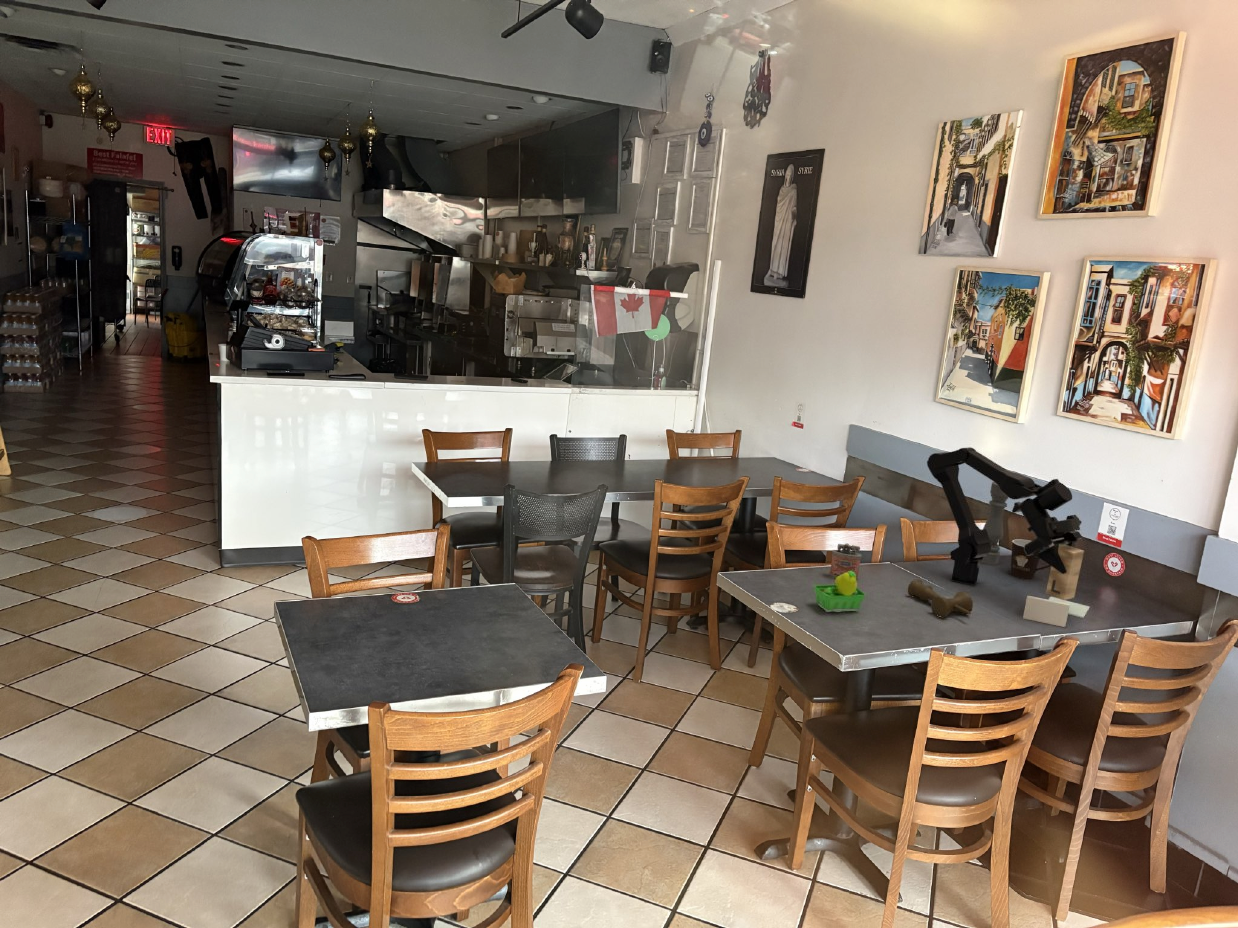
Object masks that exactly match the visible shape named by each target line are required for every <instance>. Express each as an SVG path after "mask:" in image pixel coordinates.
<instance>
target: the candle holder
mask: <svg viewBox="0 0 1238 928" xmlns="http://www.w3.org/2000/svg"><path fill="white" fill-rule="evenodd" d="M990 496H991V499H990V500H989V501H988V503H989V504H988V505H989V506H990V509H989V515H988V517H987V519H986V522H985V524H984V526H983V528H982V529H986V530H987V533H988V537H989V539H990V540H991V541H992V542H990V544H991V550H990V552H989V553H988V555H986V556H985V557H984V558H983V560H982V561H978V563H979V562H980V563H982V564H984V565H990V566H996V565H998V564H999V560H1000V559H999V558H1000V554H1001V553H1000V549H1001V548H1000V546H999V543H1000V541H1001V540H1002V538H1003V537H1004V524H1003V517H1004V513H1005V509H1006V508H1007V506H1008V503H1006V502H1007V500H1009V497H1008V496H1007V495H1006V494H1004V493H1003V492H1002V491H1001V490H1000V488H999V486H998V485H997V484H996V483H995V482H994V481H992V482H991V487H990Z"/></svg>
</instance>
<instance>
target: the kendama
mask: <svg viewBox="0 0 1238 928" xmlns="http://www.w3.org/2000/svg"><path fill="white" fill-rule="evenodd" d="M907 594H908V596H910V597H911V596H913V597H912V598H916V597H918V598H919V599H920V600H921V601H923V602H925V601H931V602H930V606H931V607H930V608H931V611H932V613H933V614H934V613H935V614H936V615H938V616H941V617H943V618H946V616H947V615H949V613H951V612H958V613H959V612H960V614H962V613H963V614H962V615H965V614H966V615H971V614H972V613H971V612H972V610H973V607H974V604H973V603H974V602H973V598H972V597H971V595H970V594H969V593H968V592H966V591H962V590H961V591H957V592H956V593H955V595H954V597H952V598H945V597H943V596H941V595H940V594H938V593H936V591H934V590H933V586H931V585H925V584H924V583H923V580H921V579H918V578H916V579H913V580H911V581H910V583H909V584H908V587H907ZM935 614H934V615H935ZM936 615H935V616H936ZM938 616H937V617H938Z"/></svg>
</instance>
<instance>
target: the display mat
mask: <svg viewBox="0 0 1238 928" xmlns="http://www.w3.org/2000/svg"><path fill="white" fill-rule="evenodd" d="M1047 600H1052V601H1057V602H1062V603H1067V604H1070V607H1069V611H1068V616H1069V615H1070V616H1073V617H1077V618H1081V619H1084V618H1085V615H1086V614H1087V613H1088V612H1089V609H1090V608H1091V607H1090V606H1088V605H1085V604H1084V605H1083V604H1081V603H1076V602H1074V601H1073V602H1072V601H1068V600H1061V599H1059V598H1056V597H1053V596H1049V598H1048V599H1047Z"/></svg>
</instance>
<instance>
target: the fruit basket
mask: <svg viewBox="0 0 1238 928" xmlns="http://www.w3.org/2000/svg"><path fill="white" fill-rule="evenodd" d="M857 582H858V581H856V574H855V573H854V572H852V571H848V572H847V573H844V574H842V575H840V576H838V577H837V578H835V580H834V583H835V584H821V585H820V584H819V585H818V584H817V585H816V584H814V586H813V588H814V593H815V599H816V604H817V603H818V604H820V605H821V606H822V607H824V608H825V609H827V610H833V609H858V610H859V607H861V604H862V602H863V600H864V599H865V597H866V593H864V592H863V591H862V590H861V589H859V588H857V587H858V583H857Z"/></svg>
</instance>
